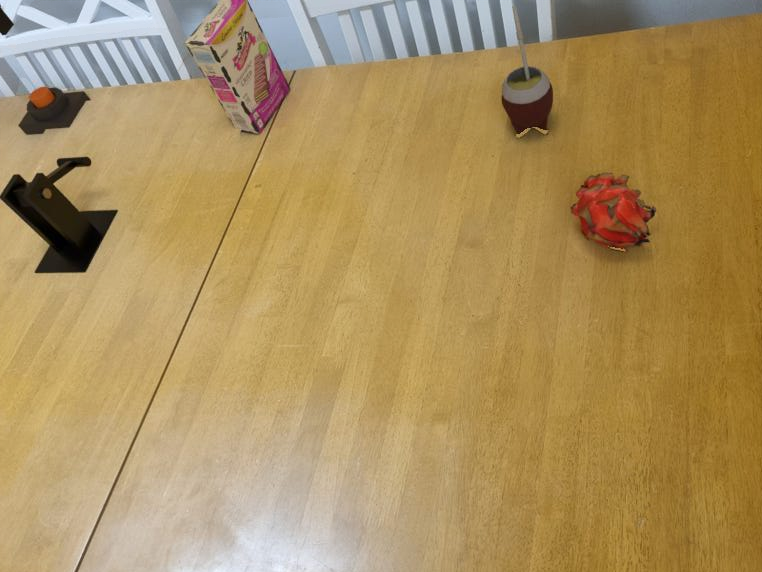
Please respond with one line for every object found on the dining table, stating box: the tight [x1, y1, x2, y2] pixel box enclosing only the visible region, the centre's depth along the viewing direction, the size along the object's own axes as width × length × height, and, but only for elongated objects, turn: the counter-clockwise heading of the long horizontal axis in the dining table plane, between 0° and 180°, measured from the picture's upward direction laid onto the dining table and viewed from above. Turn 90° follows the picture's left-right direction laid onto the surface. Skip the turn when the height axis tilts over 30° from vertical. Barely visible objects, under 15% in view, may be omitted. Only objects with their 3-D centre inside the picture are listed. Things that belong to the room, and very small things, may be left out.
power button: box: [28, 86, 55, 108], centre depth 128 cm, size 4×4×2 cm
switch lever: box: [13, 156, 92, 207], centre depth 106 cm, size 12×5×2 cm, turn 171°
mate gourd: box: [501, 5, 554, 134], centre depth 99 cm, size 8×8×15 cm
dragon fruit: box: [570, 172, 657, 249], centre depth 88 cm, size 8×8×12 cm
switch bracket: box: [0, 172, 119, 274], centre depth 106 cm, size 12×9×13 cm
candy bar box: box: [184, 0, 291, 135], centre depth 113 cm, size 11×5×16 cm, turn 160°
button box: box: [17, 86, 92, 136], centre depth 130 cm, size 10×8×4 cm
